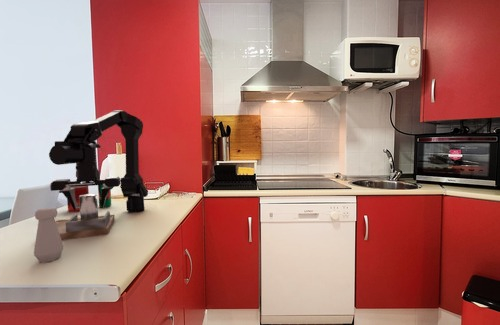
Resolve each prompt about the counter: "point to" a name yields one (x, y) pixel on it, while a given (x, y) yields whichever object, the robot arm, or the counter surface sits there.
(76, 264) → the counter surface
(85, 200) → the canister
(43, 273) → the counter surface
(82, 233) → the dock
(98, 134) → the robot arm
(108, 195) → the soda can
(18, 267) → the counter surface
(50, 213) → the salt shaker
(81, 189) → the canned food
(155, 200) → the counter surface
